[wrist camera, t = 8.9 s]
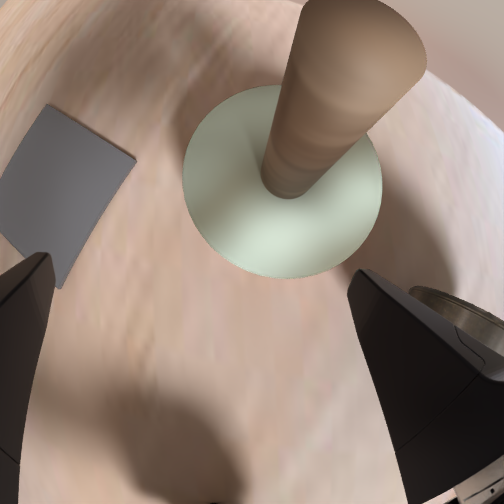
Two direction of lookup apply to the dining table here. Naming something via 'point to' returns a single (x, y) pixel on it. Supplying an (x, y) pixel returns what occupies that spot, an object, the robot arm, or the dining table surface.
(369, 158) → the wooden peg on disc
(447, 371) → the robot arm
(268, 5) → the dining table surface
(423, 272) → the dining table surface
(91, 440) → the dining table surface
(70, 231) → the mat
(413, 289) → the alarm clock
